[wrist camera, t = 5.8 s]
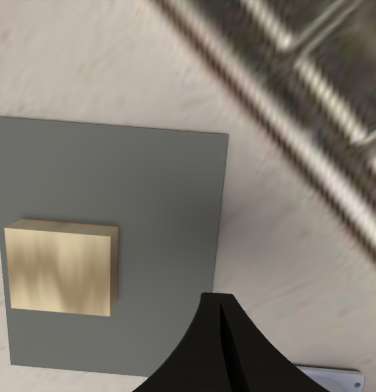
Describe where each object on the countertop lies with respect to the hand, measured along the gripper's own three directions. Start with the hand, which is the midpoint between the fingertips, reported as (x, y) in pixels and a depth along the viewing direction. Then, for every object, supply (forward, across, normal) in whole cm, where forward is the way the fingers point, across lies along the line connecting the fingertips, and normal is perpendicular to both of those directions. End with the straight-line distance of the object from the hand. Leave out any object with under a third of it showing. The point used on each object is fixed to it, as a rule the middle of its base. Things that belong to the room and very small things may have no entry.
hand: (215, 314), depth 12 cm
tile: (+8, +6, +3) cm, 10 cm away
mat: (+9, +7, +3) cm, 12 cm away
